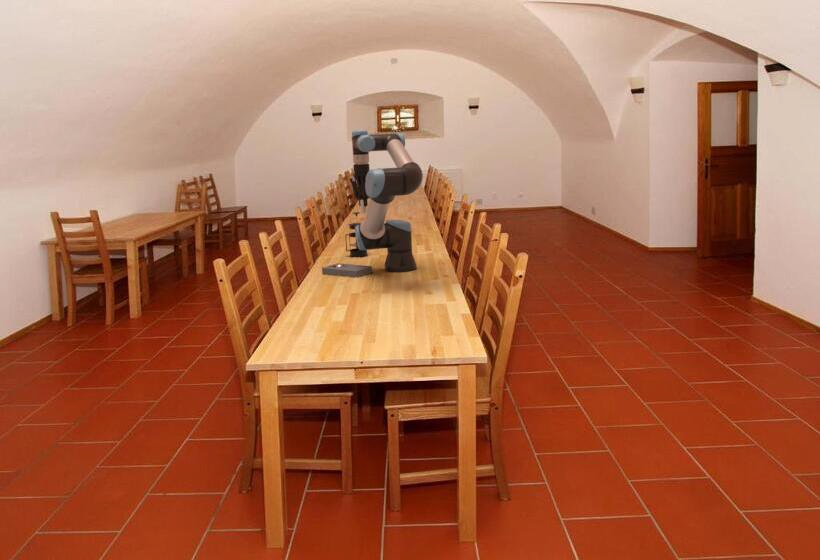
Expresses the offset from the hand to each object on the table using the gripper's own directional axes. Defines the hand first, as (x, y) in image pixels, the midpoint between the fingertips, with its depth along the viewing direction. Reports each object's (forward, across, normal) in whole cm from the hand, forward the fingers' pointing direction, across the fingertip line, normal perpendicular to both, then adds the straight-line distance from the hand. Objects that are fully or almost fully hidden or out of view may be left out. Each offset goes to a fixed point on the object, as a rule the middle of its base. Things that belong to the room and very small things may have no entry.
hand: (363, 213), depth 351 cm
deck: (+26, 0, -18) cm, 31 cm away
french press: (+27, -19, +22) cm, 39 cm away
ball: (+24, -4, -17) cm, 30 cm away
